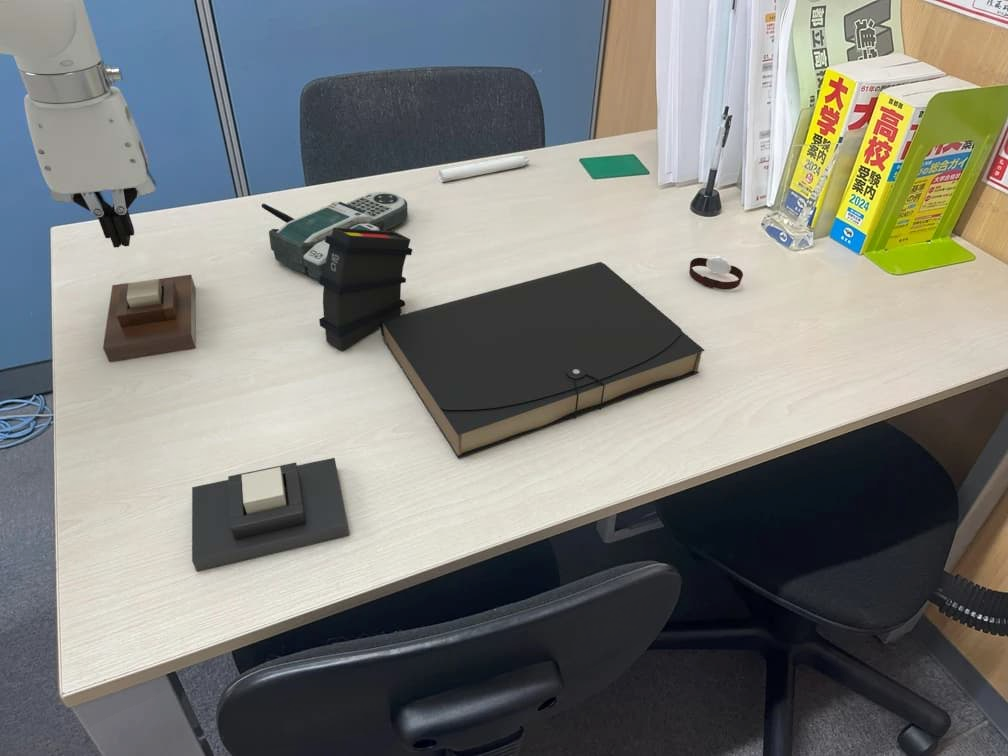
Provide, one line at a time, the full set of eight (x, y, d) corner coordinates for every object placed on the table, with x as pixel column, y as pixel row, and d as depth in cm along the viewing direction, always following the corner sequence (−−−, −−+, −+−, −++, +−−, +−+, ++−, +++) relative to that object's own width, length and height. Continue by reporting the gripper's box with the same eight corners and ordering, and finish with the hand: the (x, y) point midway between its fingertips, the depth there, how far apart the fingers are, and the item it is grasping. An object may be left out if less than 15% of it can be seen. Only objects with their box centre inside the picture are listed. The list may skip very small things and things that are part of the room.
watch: (742, 280, 105) (749, 259, 103) (735, 296, 102) (741, 275, 99) (692, 266, 108) (697, 245, 105) (683, 281, 104) (688, 260, 102)
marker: (527, 162, 133) (527, 150, 132) (532, 166, 132) (533, 154, 130) (438, 179, 127) (438, 166, 125) (443, 184, 125) (443, 171, 124)
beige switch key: (161, 305, 90) (157, 294, 89) (130, 309, 89) (126, 298, 88) (162, 289, 92) (158, 278, 91) (132, 294, 91) (128, 282, 90)
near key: (247, 515, 66) (243, 503, 65) (245, 486, 69) (241, 474, 68) (286, 506, 67) (283, 494, 66) (283, 478, 70) (280, 466, 69)
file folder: (458, 433, 74) (378, 312, 90) (459, 460, 76) (381, 338, 92) (706, 348, 86) (596, 255, 102) (699, 374, 89) (593, 279, 105)
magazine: (301, 342, 88) (328, 226, 83) (376, 335, 99) (403, 231, 94) (321, 355, 86) (349, 237, 81) (395, 346, 97) (424, 241, 92)
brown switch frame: (195, 348, 89) (187, 322, 87) (108, 362, 87) (97, 336, 84) (195, 287, 99) (187, 263, 96) (117, 298, 97) (107, 273, 94)
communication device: (431, 223, 115) (429, 172, 109) (324, 288, 100) (316, 232, 94) (375, 201, 120) (371, 151, 114) (265, 260, 105) (254, 205, 99)
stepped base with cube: (196, 571, 65) (186, 549, 63) (196, 497, 72) (187, 475, 69) (349, 535, 69) (345, 513, 66) (336, 468, 75) (332, 445, 73)
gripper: (147, 66, 77) (189, 219, 89) (-9, 75, 73) (57, 234, 85) (144, 89, 72) (189, 249, 84) (-25, 99, 68) (47, 266, 80)
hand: (122, 241), depth 84 cm, fingers closed
